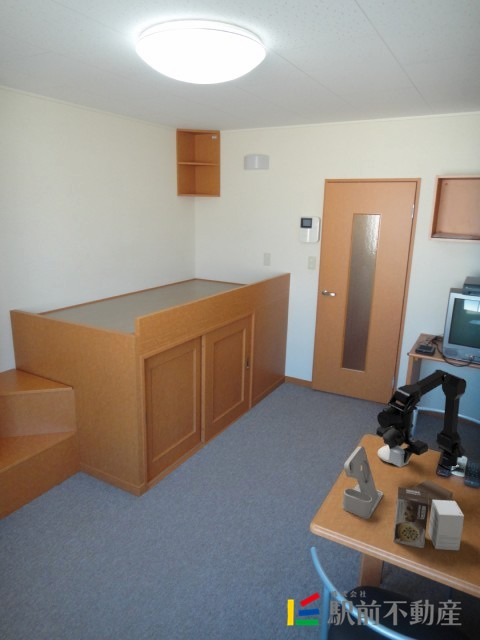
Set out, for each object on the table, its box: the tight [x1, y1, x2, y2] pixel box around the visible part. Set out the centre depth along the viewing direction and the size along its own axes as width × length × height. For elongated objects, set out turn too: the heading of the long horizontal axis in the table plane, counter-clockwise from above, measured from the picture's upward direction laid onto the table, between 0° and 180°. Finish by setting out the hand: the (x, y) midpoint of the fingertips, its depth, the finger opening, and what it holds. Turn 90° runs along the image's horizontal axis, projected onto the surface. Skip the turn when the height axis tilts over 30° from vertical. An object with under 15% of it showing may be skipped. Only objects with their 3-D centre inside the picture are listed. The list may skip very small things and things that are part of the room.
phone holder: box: [341, 445, 384, 520], centre depth 159 cm, size 17×10×18 cm, turn 146°
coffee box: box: [393, 486, 430, 549], centre depth 141 cm, size 9×6×16 cm
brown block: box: [411, 478, 454, 508], centre depth 163 cm, size 10×10×3 cm
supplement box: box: [427, 500, 465, 551], centre depth 140 cm, size 7×7×13 cm
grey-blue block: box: [388, 445, 410, 468], centre depth 167 cm, size 5×5×5 cm
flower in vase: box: [377, 426, 392, 464], centre depth 184 cm, size 13×11×25 cm
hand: (398, 459), depth 168 cm, fingers closed on grey-blue block, 5 cm apart
